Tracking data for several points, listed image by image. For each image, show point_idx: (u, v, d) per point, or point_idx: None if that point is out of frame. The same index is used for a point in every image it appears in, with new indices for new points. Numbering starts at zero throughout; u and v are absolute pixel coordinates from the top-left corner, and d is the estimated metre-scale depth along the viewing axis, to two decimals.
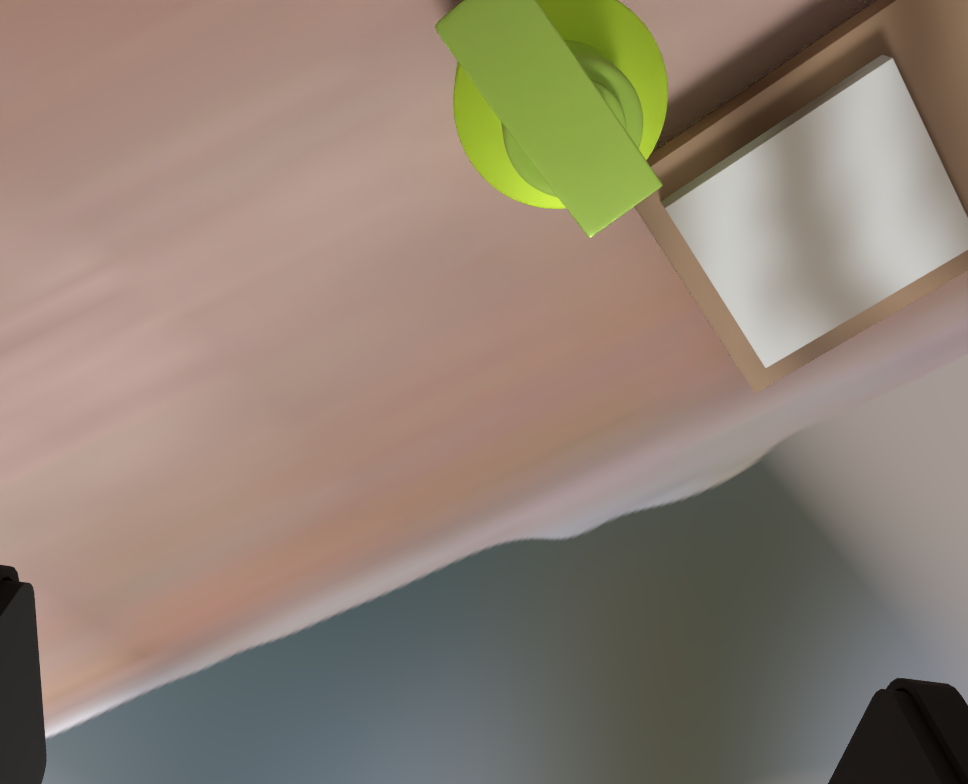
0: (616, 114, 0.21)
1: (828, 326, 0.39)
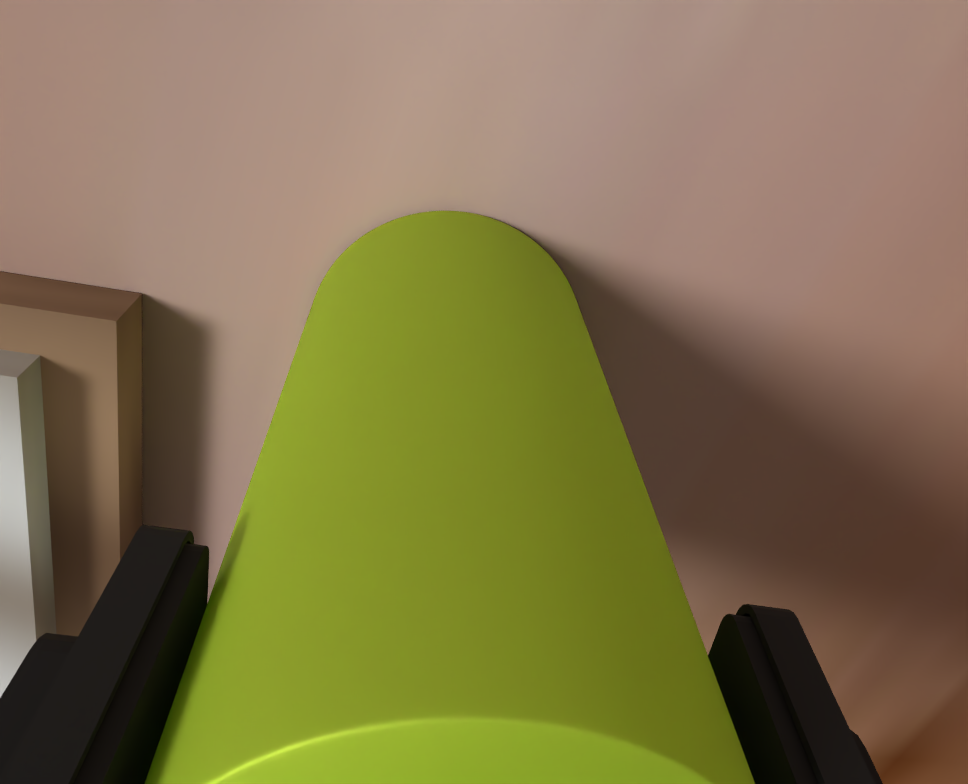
0: None
1: None
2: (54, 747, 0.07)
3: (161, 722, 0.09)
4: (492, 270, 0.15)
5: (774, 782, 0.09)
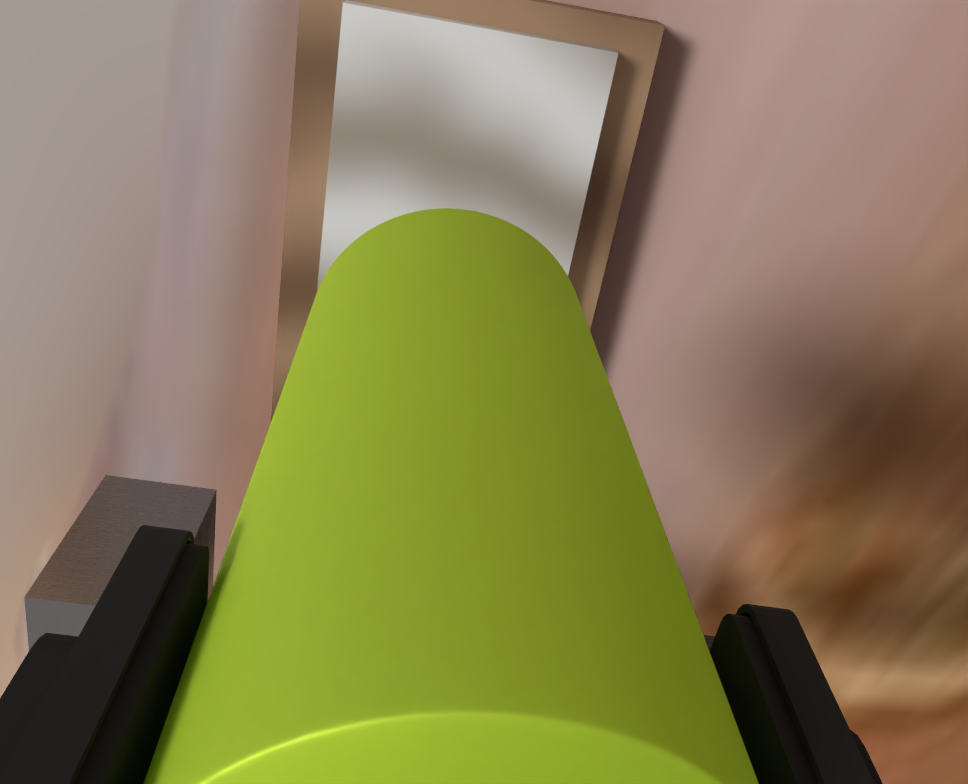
0: None
1: (340, 106, 0.30)
2: (54, 747, 0.07)
3: (161, 722, 0.09)
4: (494, 267, 0.15)
5: (773, 782, 0.09)
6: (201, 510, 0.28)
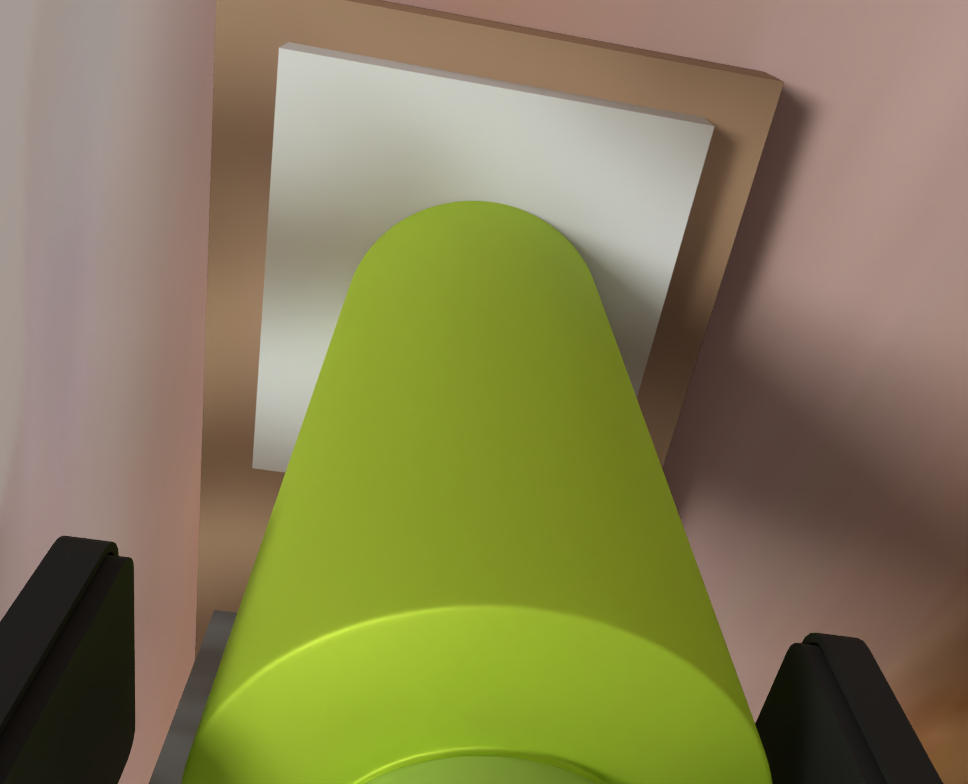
0: None
1: (279, 205, 0.19)
2: None
3: (73, 743, 0.08)
4: (516, 253, 0.16)
5: None
6: None
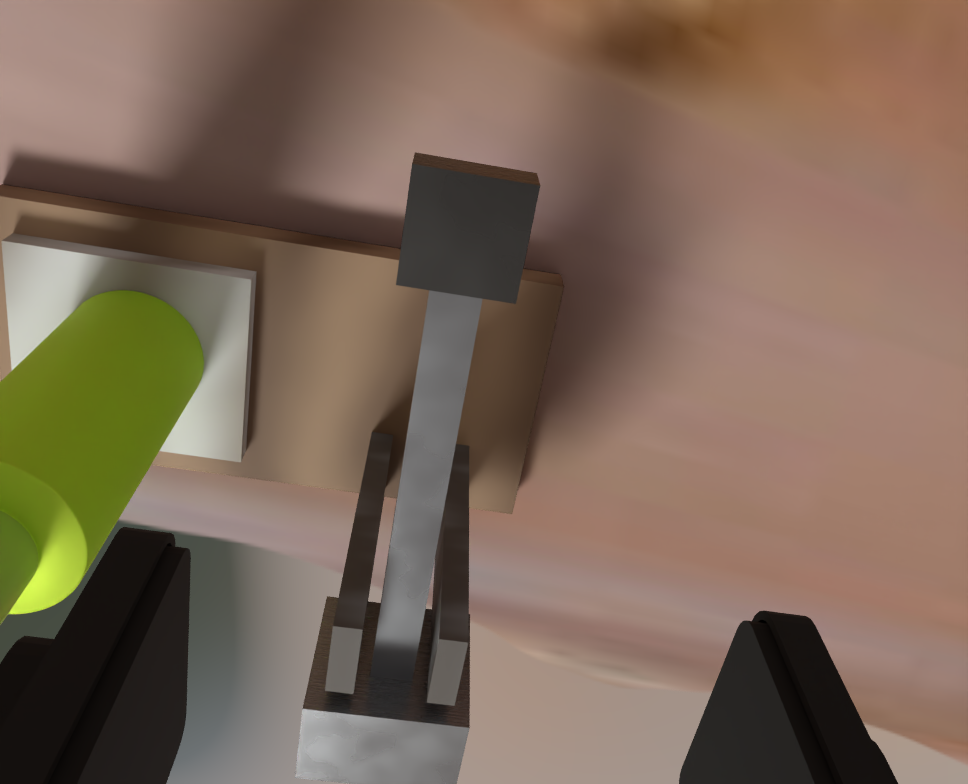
0: None
1: None
2: (26, 753, 0.07)
3: (139, 727, 0.09)
4: None
5: None
6: (322, 619, 0.36)
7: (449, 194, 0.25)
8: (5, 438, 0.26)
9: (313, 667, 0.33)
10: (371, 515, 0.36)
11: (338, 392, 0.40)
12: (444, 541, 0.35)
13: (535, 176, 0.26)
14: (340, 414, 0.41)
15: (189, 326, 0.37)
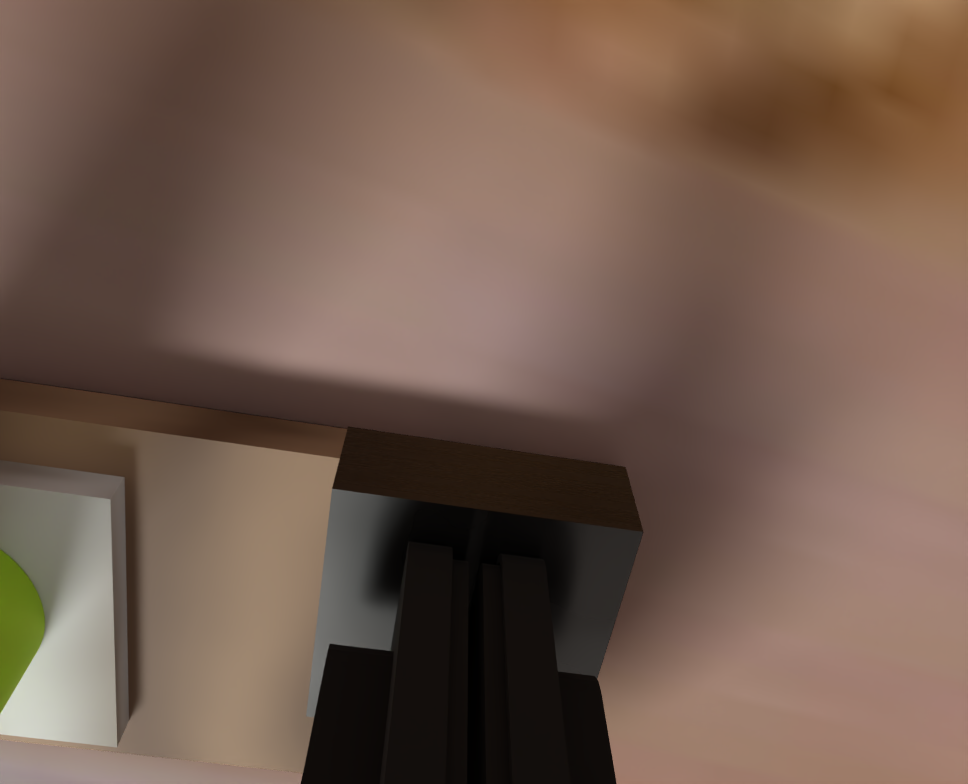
0: None
1: None
2: (419, 753, 0.08)
3: None
4: None
5: (478, 720, 0.09)
6: None
7: None
8: None
9: None
10: None
11: (266, 645, 0.26)
12: None
13: (625, 485, 0.11)
14: (271, 673, 0.26)
15: (13, 567, 0.23)
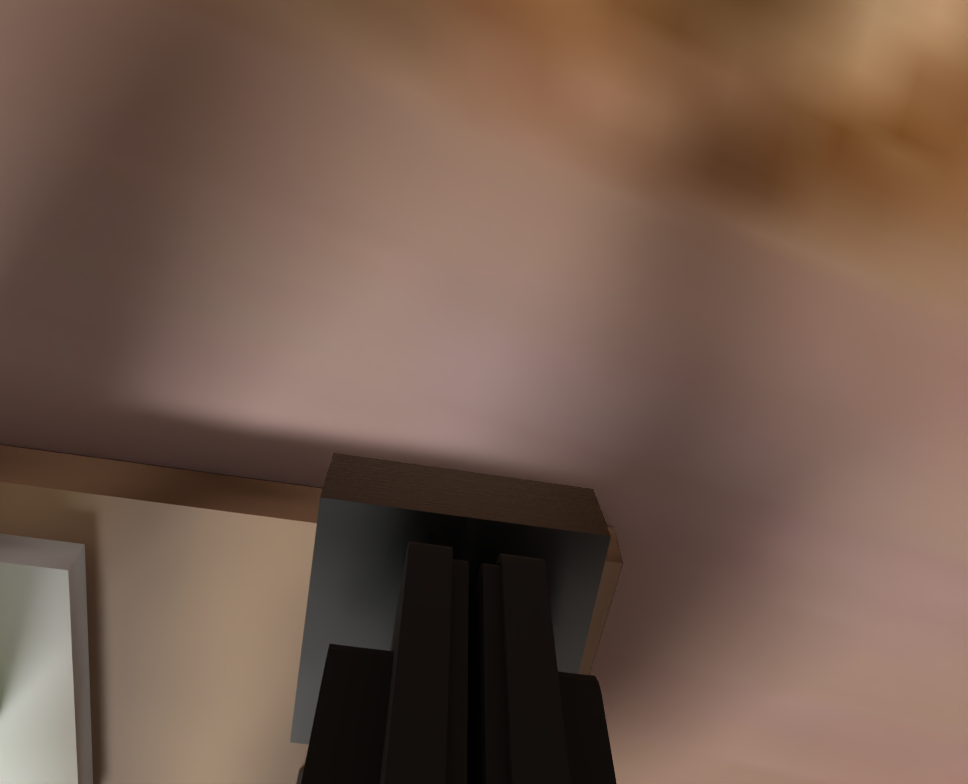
0: None
1: None
2: (419, 753, 0.08)
3: None
4: None
5: (477, 720, 0.09)
6: None
7: None
8: None
9: None
10: None
11: (240, 717, 0.24)
12: None
13: (593, 502, 0.12)
14: (245, 747, 0.25)
15: None
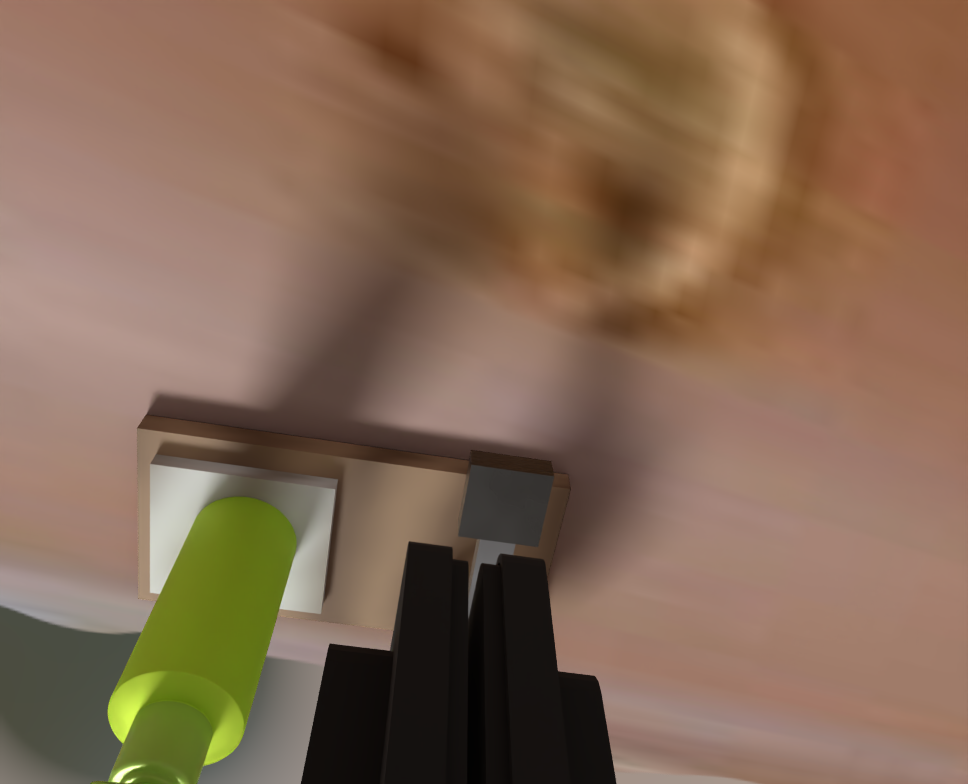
0: None
1: None
2: (419, 753, 0.08)
3: None
4: None
5: (477, 720, 0.09)
6: None
7: (495, 482, 0.38)
8: (189, 652, 0.38)
9: None
10: None
11: (396, 562, 0.52)
12: None
13: (550, 465, 0.39)
14: (397, 577, 0.53)
15: (287, 521, 0.50)
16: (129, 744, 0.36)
